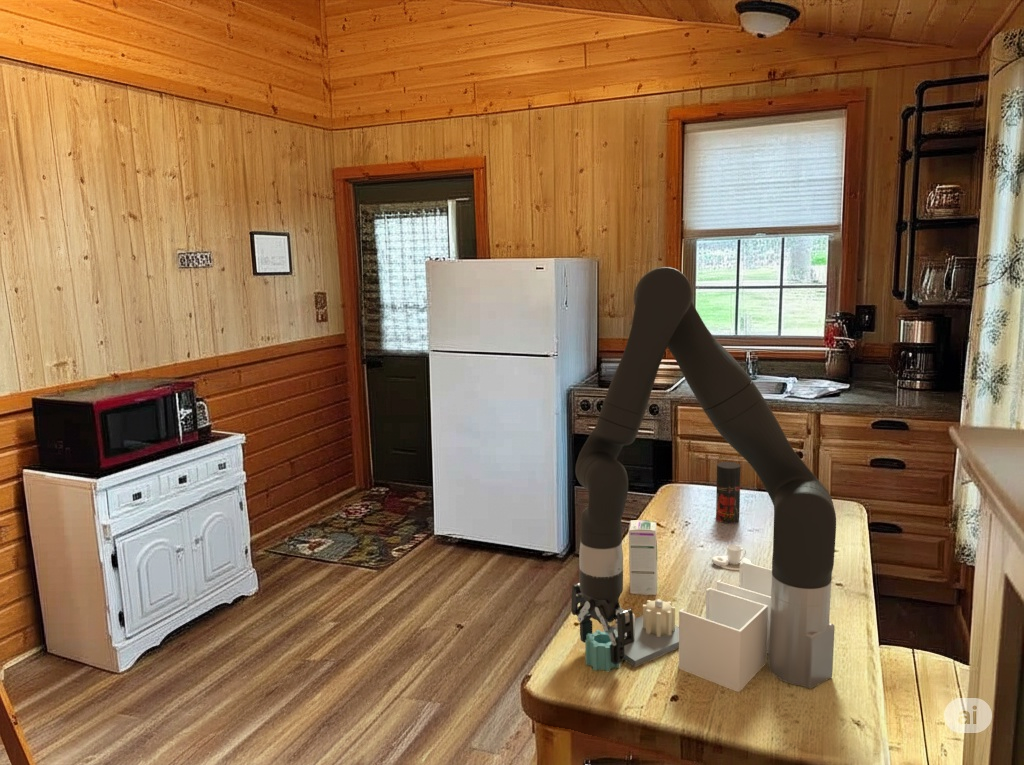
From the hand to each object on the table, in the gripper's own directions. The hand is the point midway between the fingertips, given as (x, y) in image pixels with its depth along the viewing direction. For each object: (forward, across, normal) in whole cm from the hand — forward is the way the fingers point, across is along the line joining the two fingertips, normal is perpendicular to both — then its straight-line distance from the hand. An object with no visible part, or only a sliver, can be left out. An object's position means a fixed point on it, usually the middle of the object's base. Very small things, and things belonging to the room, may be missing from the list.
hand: (601, 651), depth 128 cm
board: (+2, +1, -11) cm, 11 cm away
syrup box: (+2, +16, -25) cm, 30 cm away
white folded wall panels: (+2, -11, -23) cm, 26 cm away
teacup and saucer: (+2, +17, -50) cm, 53 cm away
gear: (+2, 0, 0) cm, 2 cm away
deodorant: (+2, +33, -70) cm, 77 cm away
